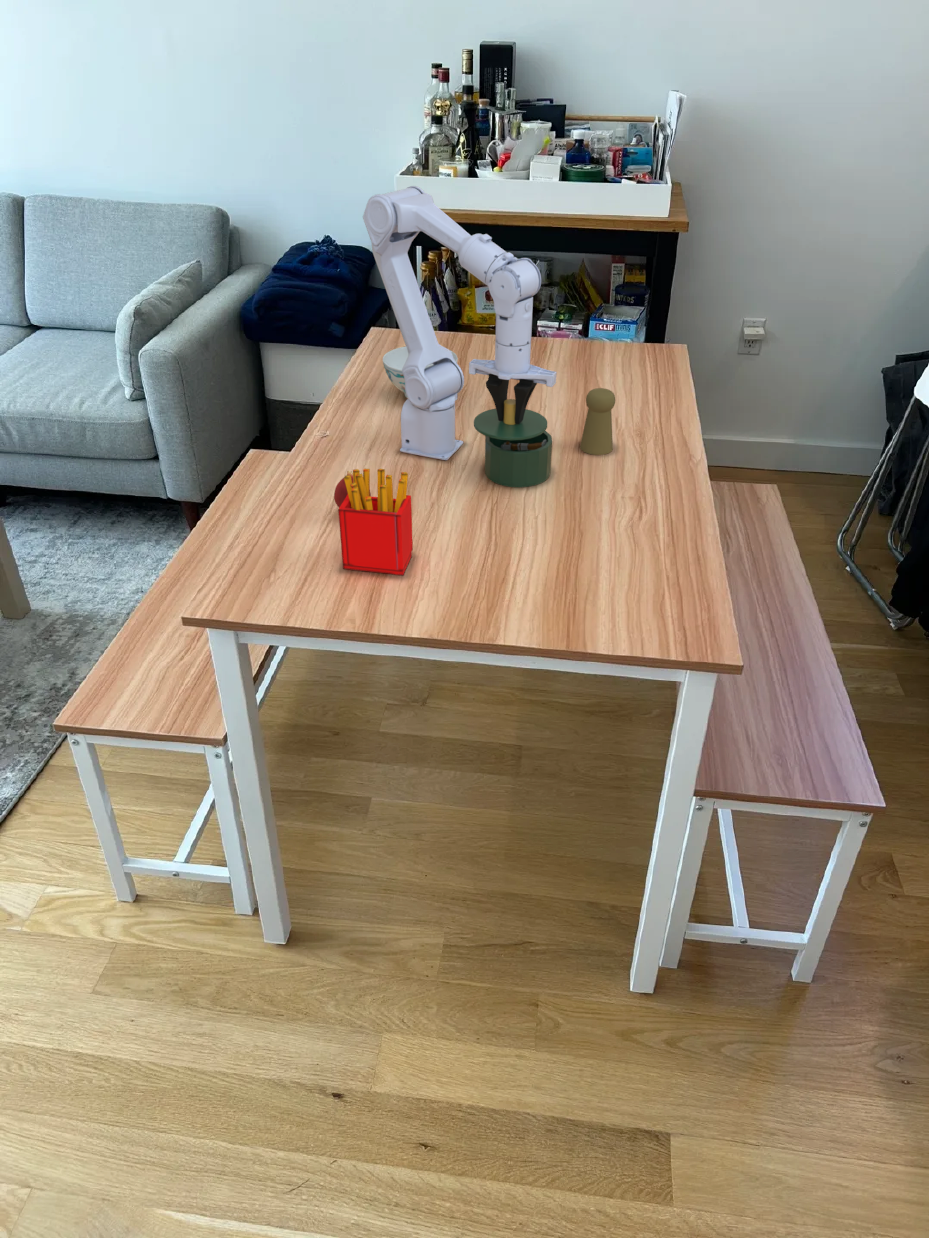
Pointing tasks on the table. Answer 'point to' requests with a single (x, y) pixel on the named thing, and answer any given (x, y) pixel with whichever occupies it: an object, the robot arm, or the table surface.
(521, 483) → the tin
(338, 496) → the onion
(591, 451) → the olive game pawn
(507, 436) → the lid
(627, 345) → the table surface
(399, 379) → the chinaware
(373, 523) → the french fries container
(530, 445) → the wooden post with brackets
